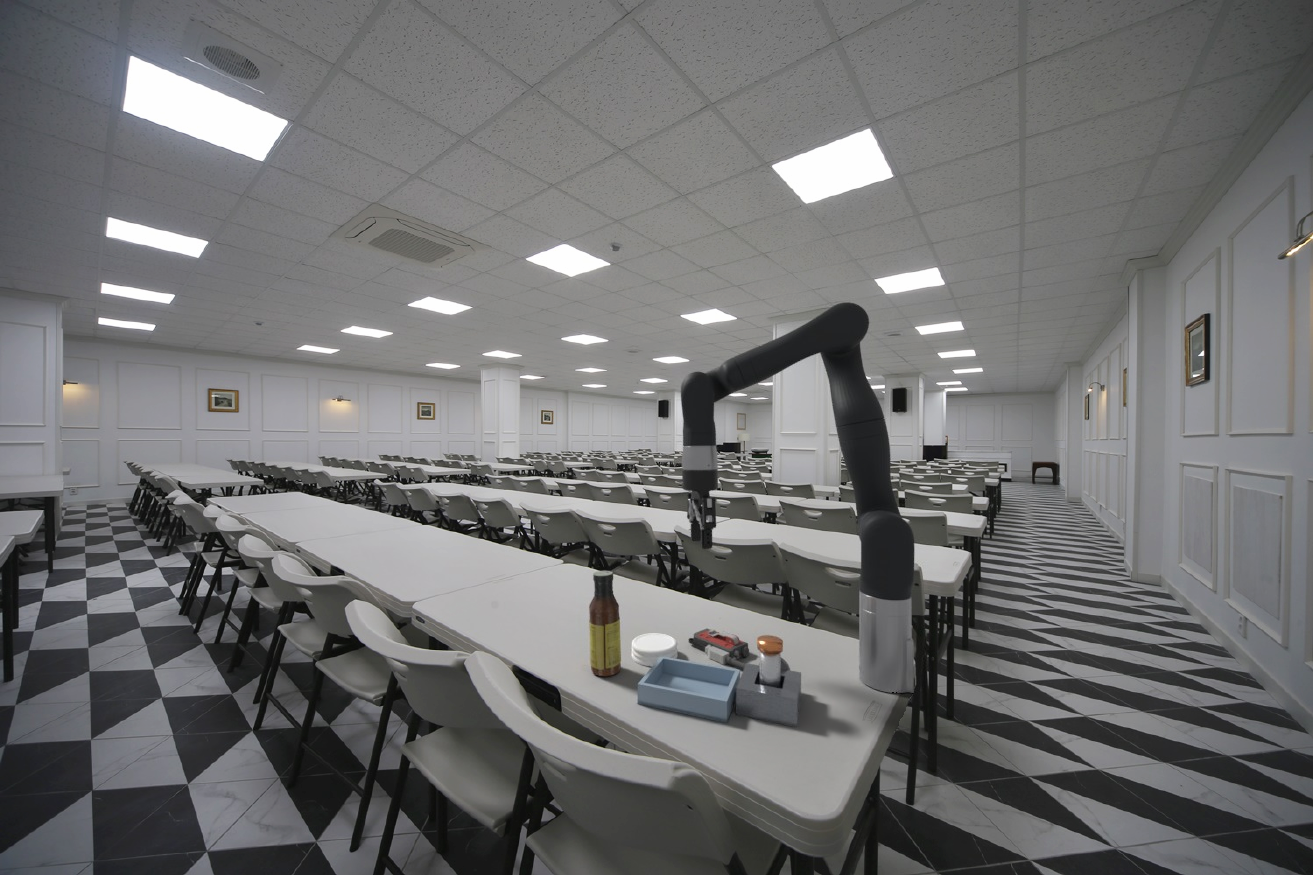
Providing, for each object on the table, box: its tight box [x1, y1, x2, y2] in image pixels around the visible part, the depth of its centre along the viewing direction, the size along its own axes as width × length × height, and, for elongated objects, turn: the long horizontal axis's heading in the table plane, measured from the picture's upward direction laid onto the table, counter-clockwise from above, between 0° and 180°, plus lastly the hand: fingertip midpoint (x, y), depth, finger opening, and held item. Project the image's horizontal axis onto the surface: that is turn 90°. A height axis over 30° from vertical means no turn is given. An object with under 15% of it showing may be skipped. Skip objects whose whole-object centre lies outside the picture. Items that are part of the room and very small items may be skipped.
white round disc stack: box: [630, 632, 678, 668], centre depth 103 cm, size 10×10×4 cm
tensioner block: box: [735, 656, 802, 728], centre depth 85 cm, size 10×12×6 cm
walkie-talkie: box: [688, 628, 750, 670], centre depth 104 cm, size 9×4×20 cm
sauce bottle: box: [588, 570, 622, 677], centre depth 97 cm, size 6×6×20 cm
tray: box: [637, 656, 741, 724], centre depth 87 cm, size 16×12×4 cm
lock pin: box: [756, 634, 784, 688], centre depth 84 cm, size 4×4×12 cm
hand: (701, 544), depth 100 cm, fingers open, 8 cm apart
